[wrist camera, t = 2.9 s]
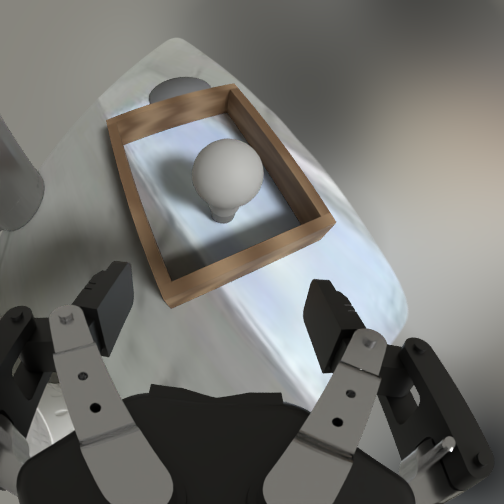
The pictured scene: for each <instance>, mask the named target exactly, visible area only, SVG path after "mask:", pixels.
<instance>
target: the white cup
mask: <svg viewBox="0 0 504 504" xmlns="http://www.w3.org/2000/svg"><path fill="white" fill-rule="evenodd" d="M74 430H75V429H74V426H73V424H72V421H71V418H70V415H69V412H68V409H67V406H66V403H65V400H64V397H63V393H62V390H61V386H60V383H56V384H53V383H47V385H46V387H45V390H44V392H43V394H42V397H41V399H40V402H39V404H38V407H37V409H36V412H35V415H34V417H33V420H32V423H31V426H30V429H29V432H28V435H27V438H26V440H27V442H28V445H29V451H30V452H29V455H30V457H32V456H34V455H36V454H37V453H39V452H41V451H42V450H44V449H46V448H47V447H49V446H50V445H52V444H54V443H55V442H57V441H58V440H60V439H62V438H63V437H65V436H66V435H68V434H70V433H71V432H73V431H74Z"/></svg>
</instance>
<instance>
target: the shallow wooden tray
mask: <svg viewBox="0 0 504 504" xmlns="http://www.w3.org/2000/svg"><path fill="white" fill-rule="evenodd" d="M223 113H228V115H229V116H230V117H231V119H232V120H233V122H234V123H235V124H236V126H237V127H238V129H239V130H240V132H241V133H242V134H243V136H244V137H245V139H246V140H247V142H248V143H249V145H250V146H251V147H252V148H253V149H254V150H255V151H256V153H257V154H258V156H259V157H260V159H261V162H262V164H263V165H264V167H265V169H266V170H267V172H268V173H269V175H270V176H271V178H272V179H273V181H274V182H275V184H276V185H277V187H278V189H279V190H280V192H281V193H282V195H283V196H284V198H285V200H286V201H287V203H288V204H289V206H290V208H291V209H292V211H293V212H294V214H295V216H296V217H297V219H298V221H299V222H300V224H301V225H300V226H298V227H296V228H293V229H291V230H289V231H286V232H284V233H282V234H280V235H277V236H275V237H273V238H270V239H268V240H266V241H263V242H261V243H259V244H257V245H254V246H252V247H250V248H247V249H245V250H243V251H240V252H238V253H236V254H234V255H231V256H229V257H227V258H224V259H222V260H220V261H218V262H215V263H213V264H211V265H208V266H206V267H204V268H202V269H199V270H197V271H195V272H192V273H190V274H188V275H186V276H183V277H181V278H179V279H177V280H174V281H172V280H171V277H170V275H169V273H168V270H167V268H166V265H165V263H164V261H163V258H162V256H161V253H160V251H159V248H158V246H157V243H156V241H155V238H154V235H153V233H152V230H151V227H150V225H149V222H148V219H147V217H146V214H145V211H144V208H143V205H142V203H141V200H140V197H139V194H138V191H137V188H136V185H135V182H134V179H133V176H132V173H131V169H130V166H129V163H128V160H127V156H126V153H125V150H124V146H123V145H125V144H128V143H130V142H133V141H136V140H138V139H141V138H144V137H146V136H149V135H152V134H155V133H158V132H161V131H164V130H167V129H170V128H173V127H176V126H179V125H183V124H186V123H189V122H193V121H196V120H200V119H204V118H207V117H211V116H215V115H219V114H223ZM106 122H107V127H108V131H109V135H110V140H111V144H112V148H113V152H114V156H115V160H116V164H117V167H118V171H119V175H120V178H121V182H122V185H123V189H124V192H125V195H126V198H127V202H128V205H129V208H130V211H131V214H132V217H133V220H134V223H135V226H136V229H137V232H138V235H139V238H140V241H141V243H142V246H143V249H144V252H145V254H146V257H147V260H148V262H149V265H150V267H151V270H152V273H153V275H154V278H155V280H156V282H157V285H158V287H159V290H160V292H161V295H162V297H163V299H164V301H165V302H166V303H167V304H168V305H169V307H170V308H171V309H172V308H174V307H176V306H178V305H181V304H183V303H185V302H187V301H190V300H192V299H194V298H196V297H198V296H201V295H203V294H205V293H207V292H209V291H212V290H214V289H216V288H218V287H220V286H223V285H225V284H227V283H229V282H231V281H234V280H236V279H238V278H240V277H242V276H244V275H247V274H249V273H251V272H253V271H255V270H257V269H260V268H262V267H264V266H266V265H268V264H270V263H272V262H274V261H277V260H279V259H281V258H283V257H285V256H287V255H289V254H291V253H294V252H296V251H298V250H300V249H302V248H304V247H306V246H308V245H310V244H312V243H315V242H317V241H319V240H321V239H322V237H323V236H324V235H325V234H326V233H327V232H328V231H329V230H330V229H331V228H332V227H333V226H334V224H335V223H336V221H335V219H334V218H333V216H332V215H331V213H330V212H329V210H328V208H327V207H326V205H325V204H324V202H323V201H322V199H321V198H320V196H319V195H318V193H317V192H316V190H315V189H314V187H313V186H312V184H311V183H310V181H309V180H308V178H307V177H306V176H305V174H304V173H303V171H302V170H301V168H300V167H299V166H298V164H297V163H296V161H295V160H294V159H293V157H292V156H291V155H290V153H289V152H288V150H287V149H286V148H285V146H284V145H283V144H282V142H281V141H280V140H279V138H278V137H277V136H276V134H275V133H274V132H273V130H272V129H271V128H270V127H269V125H268V124H267V123H266V121H265V120H264V119H263V118H262V116H261V115H260V114H259V113H258V111H257V110H256V109H255V108H254V106H253V105H252V104H251V103H250V102H249V100H248V99H247V98H246V97H245V96H244V94H243V93H242V92H241V91H240V90H239V88H238V87H237V86H236V85H235V84H228V85H223V86H218V87H213V88H209V89H204V90H200V91H196V92H191V93H187V94H184V95H180V96H176V97H173V98H169V99H166V100H162V101H159V102H156V103H153V104H149V105H146V106H143V107H140V108H137V109H135V110H132V111H129V112H126V113H124V114H121V115H118V116H116V117H113V118H111V119H108V120H106Z"/></svg>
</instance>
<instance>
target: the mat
mask: <svg viewBox="0 0 504 504" xmlns="http://www.w3.org/2000/svg"><path fill="white" fill-rule="evenodd" d="M209 88H211V86H210V85H209V84H208V83H207V82H205V81H203V80H201V79H198V78H193V77H179V78H173V79H170V80H167V81H164V82H162V83H161V84H159V85H157V86H156V87H155V88H154V89H153V90H152V92H151V94H150V103H151V104H153V103H156V102H159V101H162V100H166V99H169V98H173V97H176V96H180V95H184V94H187V93H191V92H196V91H200V90H204V89H209Z"/></svg>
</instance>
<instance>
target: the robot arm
mask: <svg viewBox="0 0 504 504" xmlns="http://www.w3.org/2000/svg"><path fill="white" fill-rule="evenodd" d="M43 193H44V182H43V180H42V178H41V176H40V175H39V173H38V172H37V170H36V169H35V168H34V166H33V165H32V164H31V162H30V161H29V159H28V158H27V156H26V155H25V153H24V152H23V150H22V149H21V147H20V146H19V144H18V143H17V141H16V140H15V139H14V137H13V135H12V133H11V132H10V130H9V129H8V127H7V125H6V124H5V122H4V120H3V119H2V117H1V115H0V231H1V230H7V231H14V230H17V229H19V228H21V227H22V226H24V225H25V224H26V223H27V222H28V221H29V220H30V219H31V218H32V217H33V215H34V214H35V212H36V211H37V209H38V207H39V205H40V203H41V200H42V198H43ZM133 300H134V291H133V281H132V269H131V264H130V263H129V262H120V261H113V262H112V263H111V265H110V266H109V267H108V269H107V270H106V271H103V270H102V271H101V272H99V273H97V274H96V275H94V276H93V277H92V279H91V280H90V281H89V284H87V285H86V286H85V288H84V289H83V290H82V291H81V293H80V294H79V295H78V296H77V298H76V299H75V300H74V302H73V303H72V304H71V305H63V306H60V307H58V308H56V309H55V310H53V312H52V313H51V314H50V316H49V318H34V317H33V314H32V311H31V309H30V308H28V307H26V306H17V307H14V308H12V309H10V310H9V311H8V312H7V313H6V314H5V315H4V316H3V317H2V319H1V320H0V490H4V491H6V490H7V491H9V492H10V493H12V494H14V495H16V496H17V497H18V499H19V503H20V504H444V503H446V502H448V501H449V500H451V499H453V498H455V497H456V496H458V495H460V494H461V493H463V492H465V491H466V490H468V489H469V488H471V487H473V486H474V485H475V484H477V483H479V482H480V481H482V480H483V479H484V478H486V477H487V476H489V474H490V473H491V472H492V470H493V467H494V456H493V453H492V451H491V449H490V447H489V445H488V443H487V441H486V439H485V437H484V435H483V433H482V431H481V429H480V427H479V425H478V423H477V421H476V420H475V418H474V416H473V414H472V412H471V411H470V409H469V407H468V405H467V403H466V402H465V400H464V398H463V397H462V395H461V393H460V391H459V390H458V388H457V387H456V385H455V383H454V382H453V380H452V378H451V377H450V375H449V374H448V372H447V370H446V369H445V367H444V366H443V364H442V363H441V362H440V360H439V358H438V357H437V355H436V354H435V352H434V351H433V349H432V348H431V346H430V345H429V344H428V343H426V342H425V341H423V340H421V339H419V338H408V339H407V340H406V341H405V343H404V345H403V346H402V347H399V346H393V345H388V344H387V342H386V340H385V338H384V337H383V336H382V335H381V334H380V333H378V332H376V331H374V330H371V329H366V327H365V325H364V324H363V322H362V320H361V319H360V317H359V316H358V314H357V312H355V309H354V308H353V306H351V303H350V301H349V300H348V298H347V297H346V296H344V295H343V294H342V293H341V292H339V291H336V290H335V288H334V286H333V285H332V283H331V282H330V280H319V279H313V280H312V282H311V284H310V288H309V292H308V295H307V299H306V302H305V306H304V311H303V319H304V323H305V326H306V328H307V331H308V334H309V337H310V339H311V342H312V345H313V348H314V351H315V353H316V356H317V359H318V362H319V365H320V368H321V370H322V373H333V375H332V377H331V379H330V381H329V382H328V384H327V386H326V388H325V389H324V391H323V393H322V395H321V396H320V398H319V400H318V402H317V403H316V405H315V407H314V408H313V410H312V412H309V411H308V410H306V409H304V408H302V407H300V406H297V405H294V404H291V403H287V402H283V399H282V394H281V393H245V394H239V395H233V396H227V397H220V398H215V397H210V396H207V395H203V394H200V393H197V392H193V391H190V390H187V389H184V388H177V387H169V386H162V385H155V384H151V387H150V391H149V393H143V394H137V395H133V396H129V397H127V398H124V399H121V397H120V395H119V393H118V391H117V389H116V387H115V385H114V383H113V381H112V379H111V377H110V375H109V373H108V371H107V368H106V366H105V364H104V362H103V359H102V357H101V356H105V357H109V356H110V354H111V352H112V349H113V347H114V345H115V342H116V340H117V338H118V336H119V333H120V331H121V329H122V327H123V325H124V323H125V320H126V318H127V316H128V314H129V312H130V310H131V308H132V305H133ZM18 357H20V359H21V363H20V365H19V367H18V369H17V370H16V372H15V374H14V376H13V377H12V368H13V365H14V364H15V362H16V360H17V358H18ZM52 372H57V375H58V379H59V383H60V386H61V390H62V393H63V397H64V400H65V403H66V406H67V409H68V412H69V415H70V418H71V421H72V424H73V426H74V429H75V430H74V431H73V432H71V433H70V434H68V435H66V436H65V437H63V438H62V439H60V440H58V441H57V442H55V443H54V444H52V445H50V446H49V447H47V448H46V449H44V450H42V451H41V452H39V453H37V454H36V455H34V456H32V457H30V455H29V452H30V451H29V445H28V442H27V440H26V438H27V435H28V432H29V429H30V426H31V423H32V420H33V417H34V415H35V412H36V409H37V407H38V404H39V402H40V399H41V397H42V394H43V392H44V390H45V387H46V385H47V383H48V380H49V378H50V376H51V374H52ZM413 385H415V387H416V389H417V391H418V393H419V395H420V404H419V406H417V404H416V402H415V400H414V398H413V396H412V393H411V392H410V389H411V388H412V387H413ZM376 395H378V398H379V401H380V403H381V405H382V408H383V411H384V413H385V416H386V418H387V421H388V424H389V427H390V429H391V432H392V435H393V437H394V440H395V443H396V446H397V449H398V451H399V454H400V457H401V460H402V462H401V464H400V467H399V475H398V474H396V473H395V472H393V471H392V470H390V469H389V468H387V467H385V466H384V465H382V464H381V463H379V462H378V461H376V460H375V459H374V458H372V457H371V456H369V455H368V454H366V453H365V452H363V451H362V450H361V449H359V448H358V447H357V446H358V443H359V441H360V439H361V436H362V434H363V431H364V429H365V426H366V423H367V421H368V418H369V415H370V412H371V409H372V407H373V404H374V400H375V397H376Z"/></svg>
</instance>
